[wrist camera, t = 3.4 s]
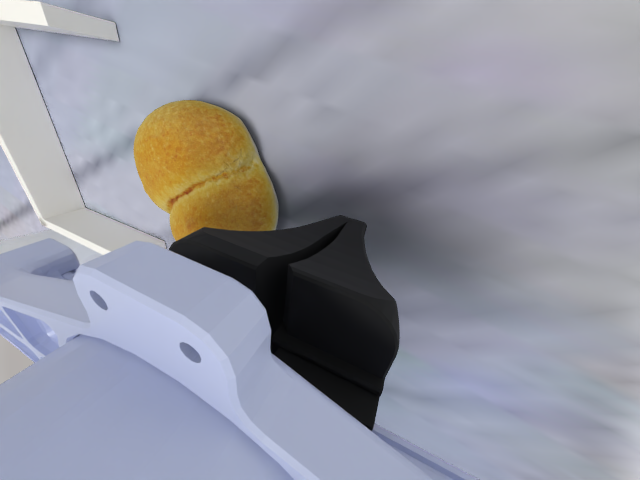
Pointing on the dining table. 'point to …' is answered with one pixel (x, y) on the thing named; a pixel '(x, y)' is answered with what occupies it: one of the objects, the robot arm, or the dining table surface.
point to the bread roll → (204, 169)
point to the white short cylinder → (80, 250)
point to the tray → (49, 129)
